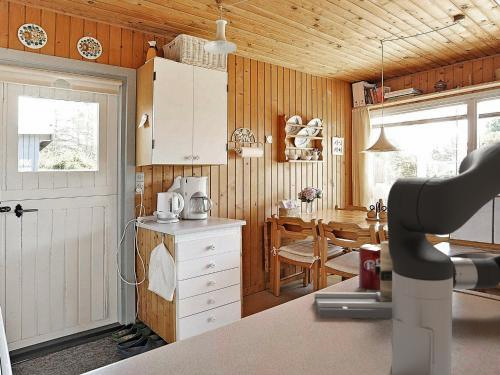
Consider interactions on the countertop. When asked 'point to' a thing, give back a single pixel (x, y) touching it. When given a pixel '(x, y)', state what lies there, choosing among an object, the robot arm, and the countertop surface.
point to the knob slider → (386, 265)
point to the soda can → (369, 267)
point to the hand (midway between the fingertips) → (377, 272)
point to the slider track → (351, 305)
